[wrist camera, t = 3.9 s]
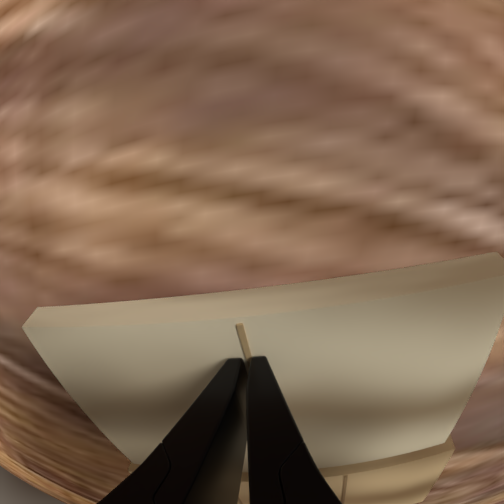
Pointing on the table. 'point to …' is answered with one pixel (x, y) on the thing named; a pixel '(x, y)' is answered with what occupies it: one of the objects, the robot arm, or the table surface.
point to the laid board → (379, 477)
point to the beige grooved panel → (290, 355)
